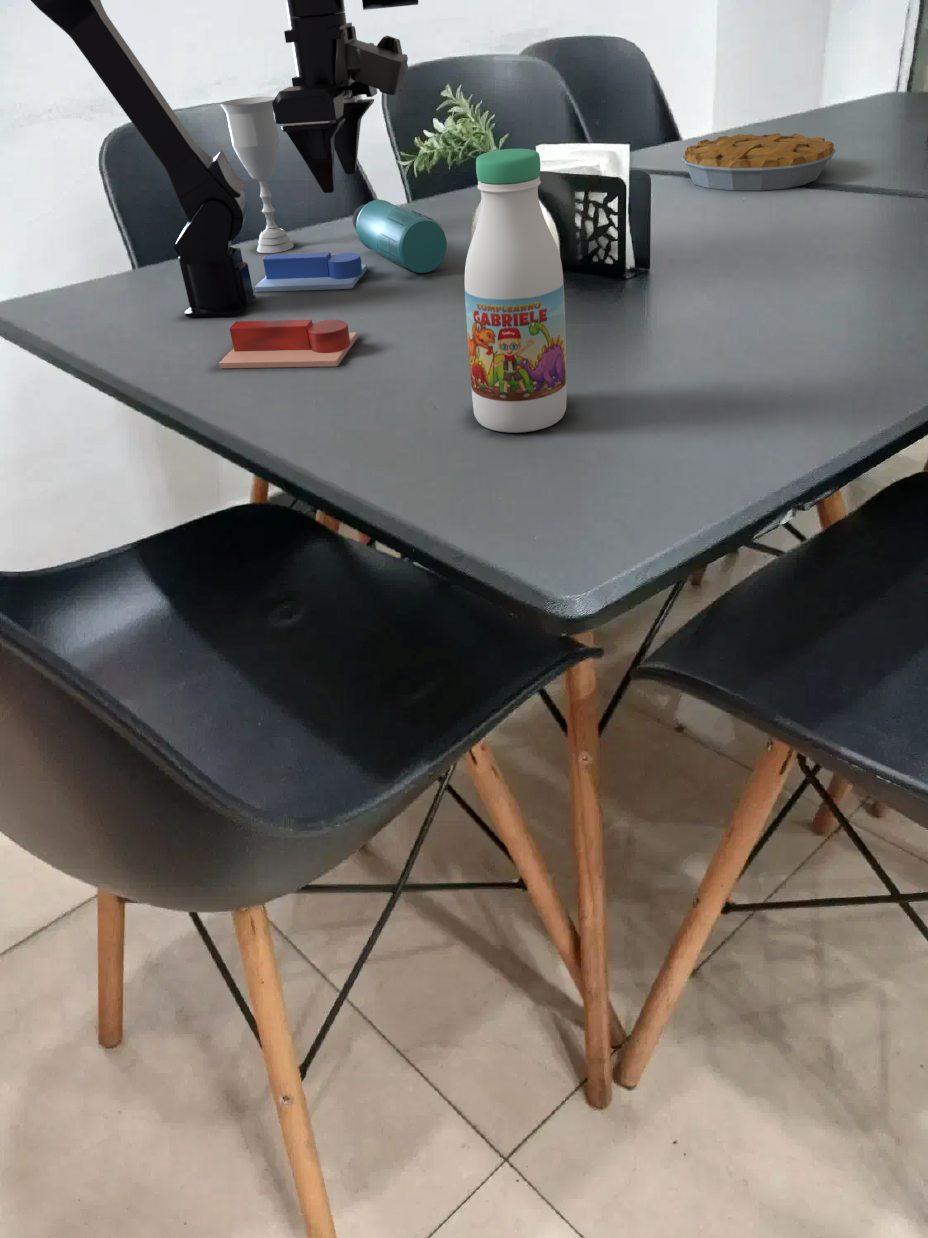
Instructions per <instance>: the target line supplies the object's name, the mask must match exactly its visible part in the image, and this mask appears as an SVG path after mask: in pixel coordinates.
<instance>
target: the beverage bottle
mask: <svg viewBox="0 0 928 1238" xmlns="http://www.w3.org/2000/svg"><path fill="white" fill-rule="evenodd" d="M352 226H353V228H354V230H355V231H356V235H357V237H358V239H359V241H360V242H361V244H362V245H363V246H364V247H365V248H367V249H368V250H370V251H373V252H375V253H377V254H379V255H380V256H381V257H384V258H385V259H387V260H389V261H391V263H394V264H395V265H397V266H399V267H401V268H403V269H405V270H407V271H409V272H411V273H415V274H416V275H417V274H421V275H423V274H427V273H429V272H432V271H433V270H435V269H436V268H437V267H438V266H440V264H441V263H442V262H443V260H444V259H445V256H446V253H447V247H448V244H447V243H448V242H447V237H446V233H445V230H444V229H443V227H442V226H441V224H440V223H438V222H437V221H436V220H434V218H431V217H428V216H427V215H425V214H422V213H419V212H416V211H415V210H413V209H409V208H407V207H406V208H405V207H402V206H398V205H396V204H394V203H391V202H390V201H388V200H386V199H374V200H372V201H369V202H368V203H365V204H362V205H360V206H358V207H357V208H356V209H355V211H354V212H353V215H352Z"/></svg>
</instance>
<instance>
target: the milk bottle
mask: <svg viewBox="0 0 928 1238" xmlns="http://www.w3.org/2000/svg"><path fill="white" fill-rule="evenodd" d="M475 170H476V172H475V173H476V178H477V190H479V191H480V196H481V197H480V199H481V200H480V209H479V213H478V214H479V215H478V220H477V223H476V227H475V230H474V233H473V236H472V239H471V240H470V243H469V248H468V251H467V255H466V259H465V266H464V300H465V301H464V304H465V319H466V332H467V333H466V336H467V347H468V360H469V373H470V384H471V398H472V399H471V400H472V407H473V415H474V418H475V419H476V421H477V422H478V423H479V424H480V426H482V427H484V428H486V429H489V430H492V431H496V432H502V433H527V432H528V433H529V432H535V431H538V430H543V429H547V428H548V427H551V426H553V425H555V424H557V423H559V421H561V420H562V419H563V417H564V416H565V412H566V411H567V400H568V399H567V396H568V395H567V349H566V346H567V344H566V312H565V311H566V309H565V307H566V306H565V305H566V304H565V288H564V287H565V285H564V272H563V265H562V260H561V256H560V255H561V254H560V252H559V248H558V246H557V243H556V241H555V238H554V236H553V234H552V232H551V230H550V228H549V226H548V224H547V222H546V218H545V216H544V213H543V211H542V206H541V203H540V199H539V192H538V191H539V190H538V189H539V186H540V185H541V184H542V181H541V177H540V175H541V157H540V153H539V152H538V151H537V150H534V149H530V148H504V149H503V148H502V149H497V150H492V151H487V152H485V153H481V154H479V155H478V156H477V157H476V159H475Z"/></svg>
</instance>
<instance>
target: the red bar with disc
mask: <svg viewBox="0 0 928 1238" xmlns="http://www.w3.org/2000/svg"><path fill="white" fill-rule="evenodd" d="M228 329H229V333H230V337H231V342H232V347H233V348H234V351H275V350H310V349H311V350H312V351H314V352H318V353H331V352H337V351H341V350H343V349H346V348H347V347H349V346H350V337H349V332H350V330H349V325H348V323H347V322H346V321H345V320H341V319H326V320H319V321H316V322H313V319H312V318H311V319H309V318H308V319H280V320H279V319H277V320H276V319H275V320H274V319H273V320H272V319H271V320H243V321H241V320H239V321H237V320H236V321H235V322H234V323H233V324H232V325H231V326H230V327H229V328H228Z"/></svg>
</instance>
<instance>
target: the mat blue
mask: <svg viewBox="0 0 928 1238" xmlns="http://www.w3.org/2000/svg"><path fill="white" fill-rule="evenodd" d="M361 265H362V274H361V275H359V276H357V277H354V278H349V279H333V278H331V277H318V278H289V279H267V278H266V276H265V277H263V279H261V280H260V281H259V282H258V283H257V284H256V285H255V286H254V292H255V293H261V292H262V293H265V292H266V293H267V292H294V291H296V292H297V291H299V292H300V291H328V290H352V289H353V288H354V287H355V286H356V284H357V283H358V282H359V280H360V279H361V278H362V277H363V275H364V274H365V273H366V272H367V270H368V265H367V264H361Z"/></svg>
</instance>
